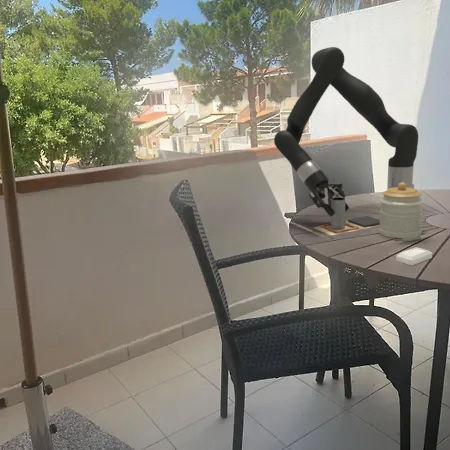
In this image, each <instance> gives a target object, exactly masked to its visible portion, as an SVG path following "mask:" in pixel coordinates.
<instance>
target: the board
mask: <svg viewBox="0 0 450 450" xmlns="http://www.w3.org/2000/svg"><path fill="white" fill-rule="evenodd" d="M372 217H373V218H376V219H379V220H380V218H378V217H375V216H372ZM376 227H379V225H376V226H371V227H366V228H364V227H361V226H359V225H356V224H353V223H350V222H348V220H345V228H344V229H340V230H336V229H332V228H331V222H330V223H326V224H321V225H319V226H314V227H312V229H311V230H312V232H314V233H317V234H319V235H322V236H324V237H326V238H329V239H331V240H332V239H333V240H334V239H335V237H332V236H337V235H340V234H346V233H351V232H356V231H362V230H366V229H371V228H376Z"/></svg>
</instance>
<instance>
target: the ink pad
mask: <svg viewBox="0 0 450 450" xmlns="http://www.w3.org/2000/svg"><path fill="white" fill-rule="evenodd" d="M373 217H374V216H370V215H366V216H362V217H354V218H351V219H347V221H348V222H350V223H353V224H356V225H359V226H361V227H364V228H366V227H371V226H376V225H379V224H380V220H379V219H380V218H378V219H376V218H377V217H375V218H373Z"/></svg>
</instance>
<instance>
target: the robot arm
mask: <svg viewBox="0 0 450 450" xmlns="http://www.w3.org/2000/svg"><path fill="white" fill-rule="evenodd" d="M344 64H345V55H344V52H343V50H342V49H340V48H339V47H336V46H330V47H326V48H325V47H324V48H322V49H319V50H317V51H316V52H315V53H314V54H313V55H312V57H311V67H312V69H313V71H314V73H315V75H314V77H313V79H312V80H311V82H310V83H309V85H308V86H307V88H306V89H305V90H304V91H303V92H302V94H301V95H300V96H299V97H298V99H297V100H296V102H295V104H294V105H293V107H292V109H291V110H290V113H289V115H288V117H287V119H286V120H287V121H286V123H287V127H286V129H284V130H283V129H282V130H279V131H278V132H276V134H275V135H274V138H273V141H274V145H275V147H276V149H277V150H278V151H279V152H280V153H281V155H283V157H285V159H286V160H287V161H288V162H289V164H290V166H291V167H292V168H293V170H294V171H295V172H296V174H297V175H298V177H299V178H300V180H301V181H302V183H303V184H304V185H305V187H306V188H307V189H308V191H309V192H310V193H309V194H308V196H309V197H310V199H311V200H312V202H313V203H314V205H315V206H316V207H317V208H318V209H320V208H321V209H323V210H324V211H325V213H327V215H329V217H331V216H333V215H334V214H335V211H334V210H333V208H332V207H331V206H330V205H329V204H328V200H331V199H332V198H336V197H341V198H344V197H346V194H344V193H343V192H342V191H341V190H340V189H339V187H338V186H337V185H336V184H334V185H333V186H330V184H329V178H328V176H327V175H326V174H325V173H324V171H323V170H322V169H321V167H320V166H319V165H318V164H317V163H316V162H315V161H314V160H313V159H312V157H311V156H310V154H309V153H307V151H306V150H305V149H303V148H302V146H301V145H300V142H301V140H302V136H303V133H304V129H305V128H306V125H307V124H308V122H309V120H310V119H311V117H312V115H313V113H314V111H315V109H316V107H317V105H318V104H319V102H320V101H321V98H322V97H323V95H324V94H325V92H326V90H327V89H328V88H329V86H332V87H333V88H334V89H335V90H336V91H337V92H338V93H339V95H341V96H342V97H343V99H345V101H346V102H347V103H348V104H349V105H350V106H351V107H352V109H353V108H354V110H355V111H356V112H357V113H358V115H359V114H360V116H362V117H363V118H364V120H366V121H367V122H368V123H369V124H370V125H371V126H372V127H374V129H375V130H376V131H377V132H378V133H379V135H380V136H381V137H382V139H383V140H384V141H385V142H386V143H387V144H388V145H389V147H393V148H395V150H394V155H393V156H392V157H390V158H389V159H388V167H387V183H386V184H387V186H386V187H387V188H386V191H387V190H388V189H389V188H394V187H398V184H399V183H401V182H404V183H405V184H406V185H407V187H408V188H414V189H415V185H414V184H413V183H414V182H413V179H414V164H415V163H414V162H415V161H416V158H417V154H418V147H419V146H418V144H419V132H418V129H417V127H416V126H415V125H413V124H407V123H400V122H398V121H396V120H395V119H394V118H393V117H392V116H391V115H390V114H389V113H388V112H387V110H386V106H385V103H384V102H383V99H382V97H381V96H380V95H379V94H378V93H377V92H376V91H375V89H373V88H372V87H371V85H369V84H367V83H366V82H365V81H363V80H361V79H359V78H358V77H356V76H354V75H352V74H351V73H349V72H348V71H347V70H346V69H345V68H344V67H343V66H344ZM339 193H340V194H341V195H339ZM349 209H350V206H349V205H348V203H347V202H346V201H345V212H347V211H348V210H349Z"/></svg>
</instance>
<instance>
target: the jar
mask: <svg viewBox="0 0 450 450" xmlns="http://www.w3.org/2000/svg"><path fill="white" fill-rule="evenodd" d="M382 195H383V197H381V198H380V199H379V201H380V203H381V205H380V206H381V207H380V209H379V219H380V224H379V226H378V233H379V234H381V235H382V236H385V237H388V238H394V239H395V240H394V241H397V242H411V241H416V240H419V239H420V238H421V236H422V231H423V230H422V223H423V222H422V221H423V220H422V219H423V213H424V210H423V209H422V205H423V204H424V199H422V198H421V195H422V192H420V191H418V190H417V189H416V188H415V187H414V188H408V187H407V185H406V184H405V183H404V182H401V183H399V184H398V187H394V188H389V189H388V190H387V189H386V190H384V191H383V192H382Z"/></svg>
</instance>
